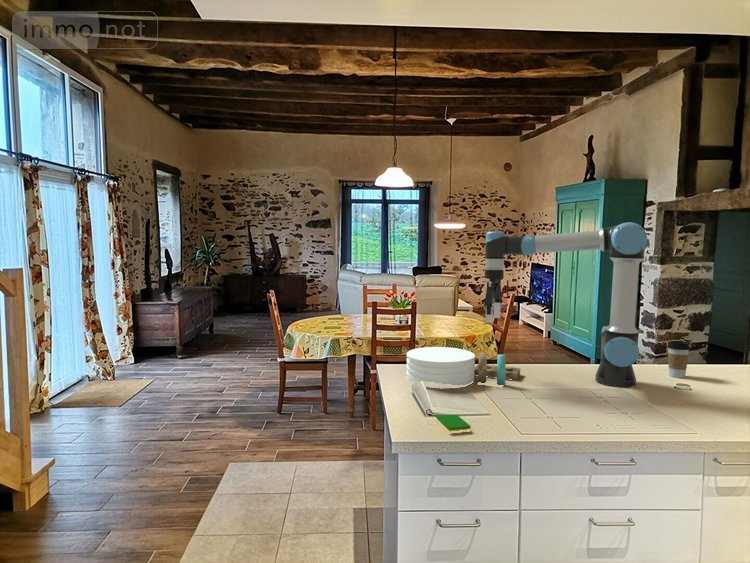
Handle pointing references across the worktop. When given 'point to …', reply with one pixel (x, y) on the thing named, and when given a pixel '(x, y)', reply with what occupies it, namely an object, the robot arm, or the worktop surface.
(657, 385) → the worktop surface
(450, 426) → the dish sponge
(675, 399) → the worktop surface
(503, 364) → the teal dowel
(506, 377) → the walnut block
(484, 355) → the oak dowel
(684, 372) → the coffee cup
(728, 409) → the worktop surface
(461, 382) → the plate stack
